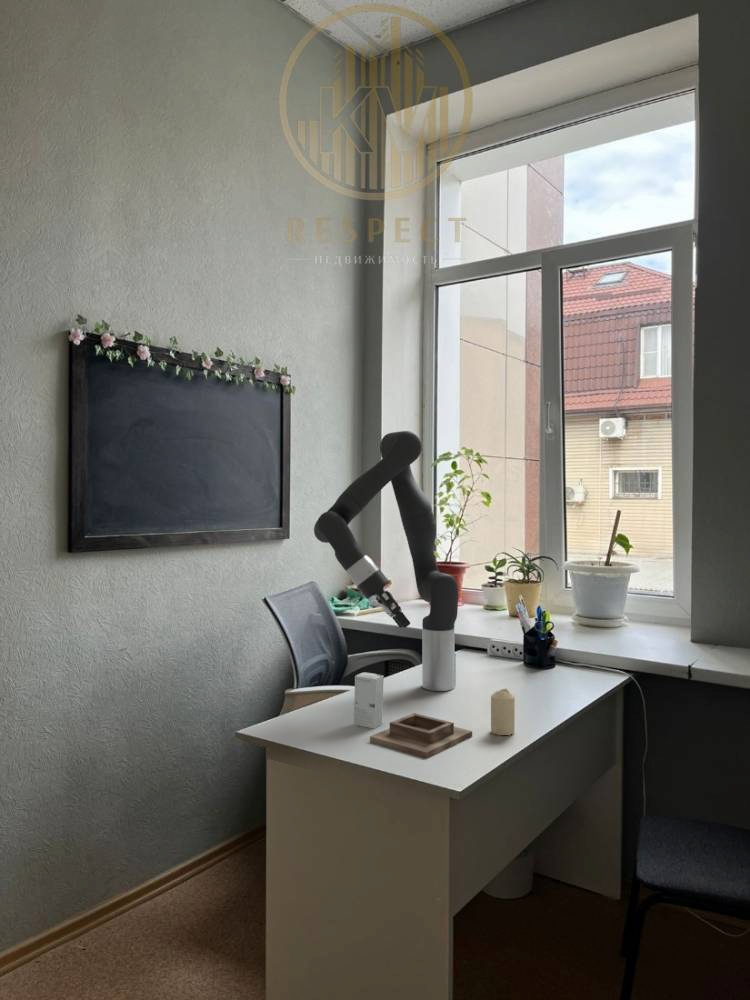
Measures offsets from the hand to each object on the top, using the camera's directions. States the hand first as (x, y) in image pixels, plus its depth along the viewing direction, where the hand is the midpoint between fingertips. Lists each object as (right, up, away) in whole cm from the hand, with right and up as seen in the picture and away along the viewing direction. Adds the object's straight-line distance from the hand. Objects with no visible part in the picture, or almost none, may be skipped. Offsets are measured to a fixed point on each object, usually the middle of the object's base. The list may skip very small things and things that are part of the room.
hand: (405, 626), depth 191 cm
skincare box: (-9, -22, -11) cm, 27 cm away
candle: (+22, -22, -17) cm, 36 cm away
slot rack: (+3, -22, -21) cm, 31 cm away
